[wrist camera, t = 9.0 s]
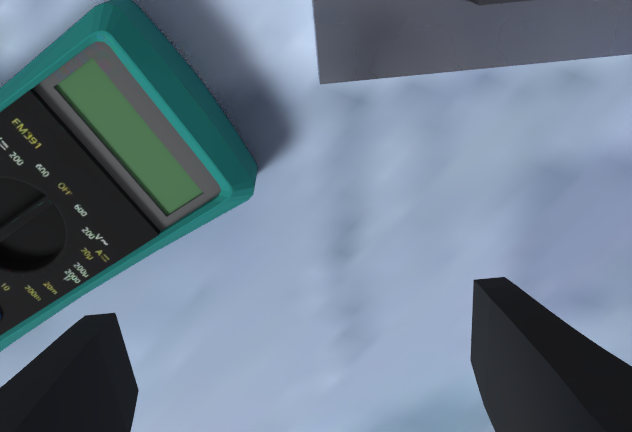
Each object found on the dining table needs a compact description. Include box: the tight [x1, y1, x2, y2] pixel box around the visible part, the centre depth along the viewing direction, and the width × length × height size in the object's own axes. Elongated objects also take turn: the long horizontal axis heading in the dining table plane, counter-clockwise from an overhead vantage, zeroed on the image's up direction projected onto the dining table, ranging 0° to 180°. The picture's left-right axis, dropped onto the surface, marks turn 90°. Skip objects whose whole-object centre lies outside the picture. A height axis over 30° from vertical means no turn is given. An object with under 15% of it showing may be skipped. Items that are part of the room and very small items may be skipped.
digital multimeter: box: [0, 0, 258, 352], centre depth 20 cm, size 7×15×3 cm, turn 123°
